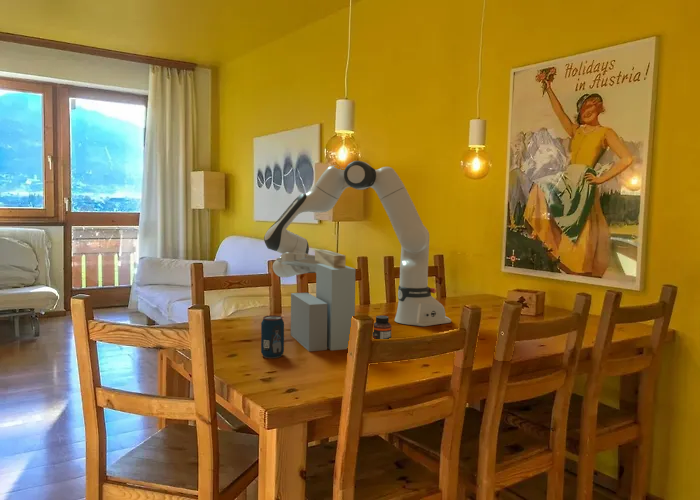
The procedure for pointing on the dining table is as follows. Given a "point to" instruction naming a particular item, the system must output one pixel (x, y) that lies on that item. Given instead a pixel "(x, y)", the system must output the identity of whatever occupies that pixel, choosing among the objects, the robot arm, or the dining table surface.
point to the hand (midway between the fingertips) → (316, 257)
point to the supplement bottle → (382, 328)
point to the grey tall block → (337, 302)
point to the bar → (330, 258)
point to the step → (309, 321)
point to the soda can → (272, 336)
